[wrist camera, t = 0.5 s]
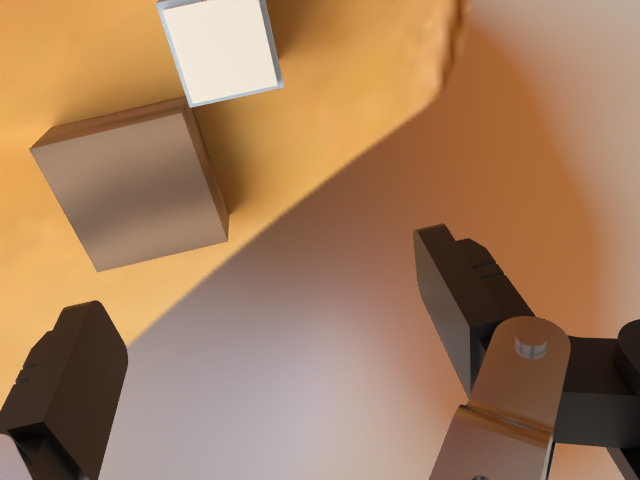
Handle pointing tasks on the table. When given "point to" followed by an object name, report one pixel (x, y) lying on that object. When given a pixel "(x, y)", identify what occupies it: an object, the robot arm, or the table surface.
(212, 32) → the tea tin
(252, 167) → the table surface
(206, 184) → the walnut block
